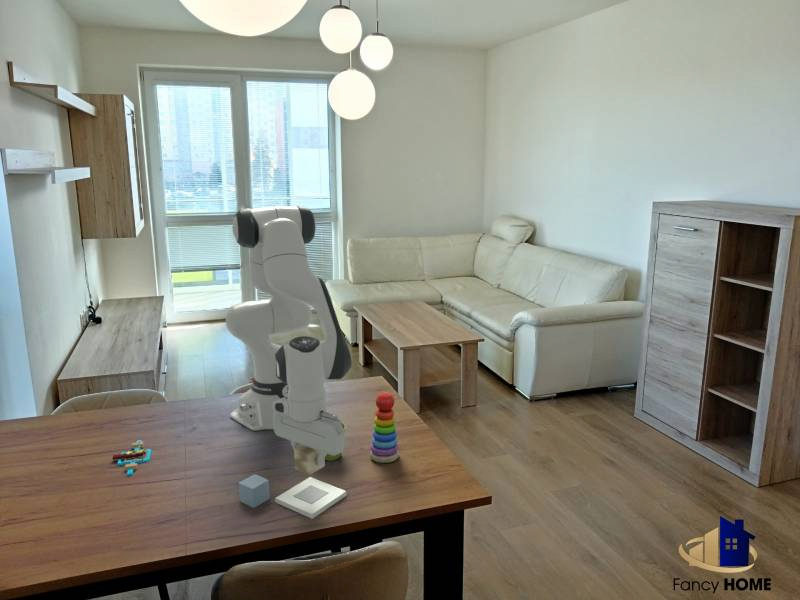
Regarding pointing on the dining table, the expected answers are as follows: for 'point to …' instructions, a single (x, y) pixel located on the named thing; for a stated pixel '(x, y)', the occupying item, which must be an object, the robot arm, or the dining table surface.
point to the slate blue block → (254, 490)
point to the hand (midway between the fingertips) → (309, 461)
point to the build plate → (310, 497)
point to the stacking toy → (384, 431)
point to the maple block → (306, 459)
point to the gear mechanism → (137, 453)
